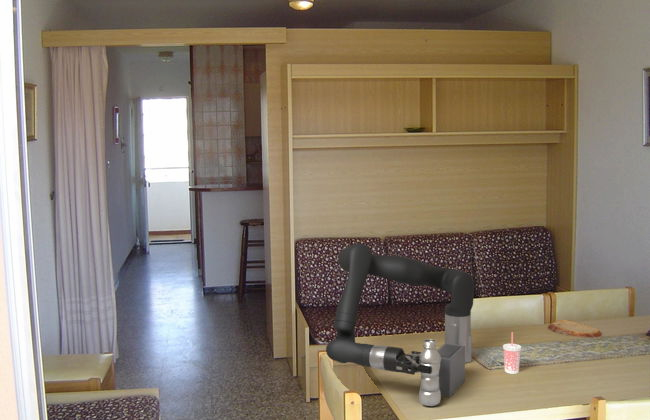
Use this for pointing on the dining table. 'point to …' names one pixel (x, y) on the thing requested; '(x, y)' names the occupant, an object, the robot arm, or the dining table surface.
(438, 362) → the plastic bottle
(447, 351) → the box
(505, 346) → the beverage cup
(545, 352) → the dining table surface
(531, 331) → the dining table surface
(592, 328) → the slice of bread
